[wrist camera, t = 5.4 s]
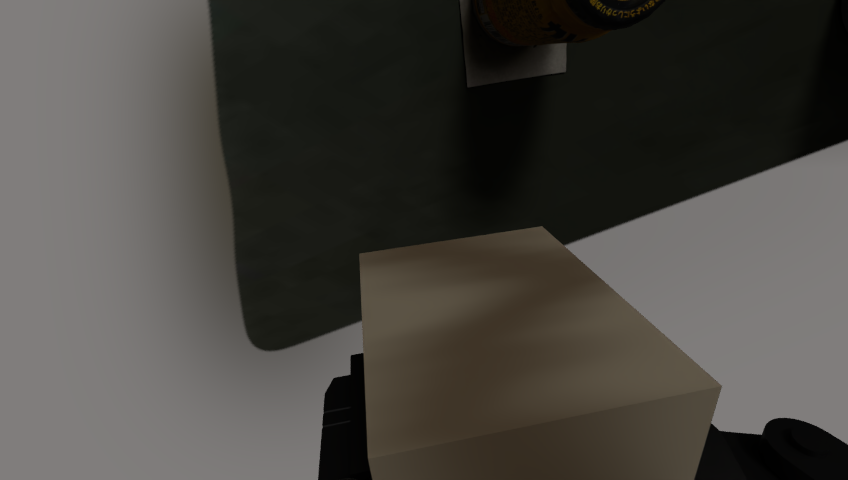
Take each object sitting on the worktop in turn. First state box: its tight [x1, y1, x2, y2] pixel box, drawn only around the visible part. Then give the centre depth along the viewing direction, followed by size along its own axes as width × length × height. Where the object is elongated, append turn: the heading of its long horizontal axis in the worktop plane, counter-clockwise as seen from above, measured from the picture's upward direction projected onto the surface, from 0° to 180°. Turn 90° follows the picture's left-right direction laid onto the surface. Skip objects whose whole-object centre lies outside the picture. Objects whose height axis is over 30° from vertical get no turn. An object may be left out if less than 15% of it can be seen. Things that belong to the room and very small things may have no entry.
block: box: [359, 227, 722, 480], centre depth 10 cm, size 5×7×6 cm
